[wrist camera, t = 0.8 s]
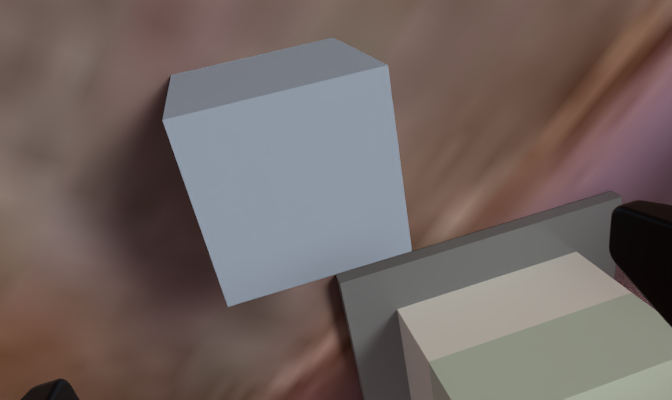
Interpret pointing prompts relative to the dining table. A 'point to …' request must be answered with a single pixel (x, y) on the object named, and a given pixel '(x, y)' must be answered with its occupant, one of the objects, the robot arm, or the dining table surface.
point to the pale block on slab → (508, 317)
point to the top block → (290, 165)
